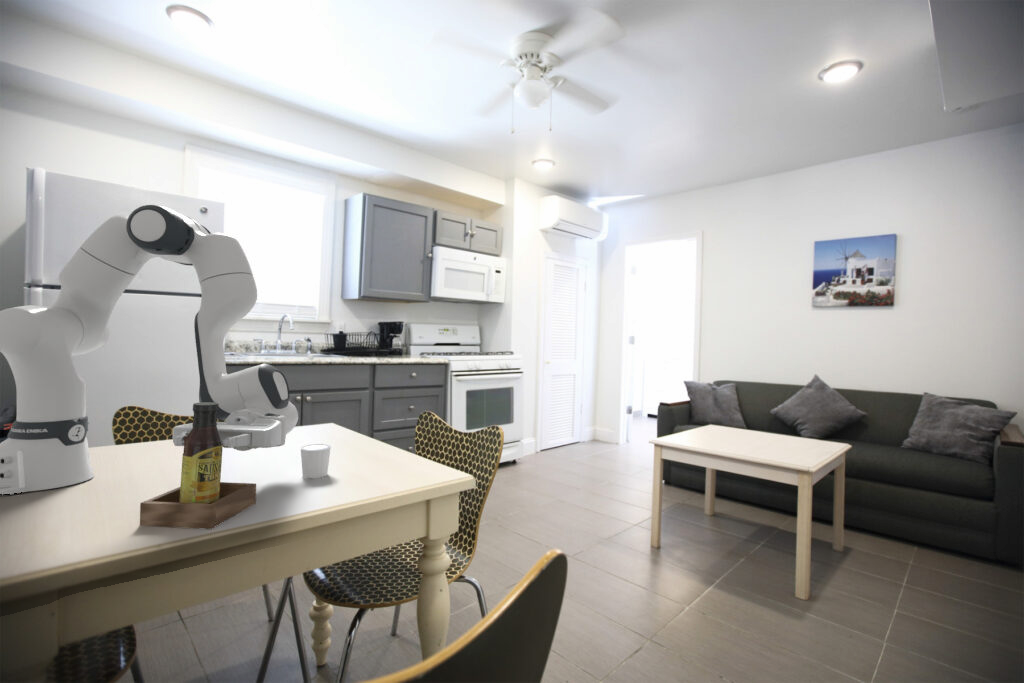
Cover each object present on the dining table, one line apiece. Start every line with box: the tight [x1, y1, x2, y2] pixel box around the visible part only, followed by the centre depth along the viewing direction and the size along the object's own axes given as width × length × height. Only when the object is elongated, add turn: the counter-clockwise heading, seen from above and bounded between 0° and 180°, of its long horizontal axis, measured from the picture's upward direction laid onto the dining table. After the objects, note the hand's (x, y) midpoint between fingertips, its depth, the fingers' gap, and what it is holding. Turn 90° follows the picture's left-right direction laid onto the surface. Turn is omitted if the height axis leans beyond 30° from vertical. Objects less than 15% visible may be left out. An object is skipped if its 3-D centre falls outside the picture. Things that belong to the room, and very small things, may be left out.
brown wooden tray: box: [139, 481, 257, 530], centre depth 88 cm, size 13×13×4 cm
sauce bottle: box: [179, 402, 224, 504], centre depth 88 cm, size 7×6×20 cm
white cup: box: [300, 443, 331, 479], centre depth 115 cm, size 7×7×7 cm
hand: (202, 442), depth 88 cm, fingers open, 8 cm apart
